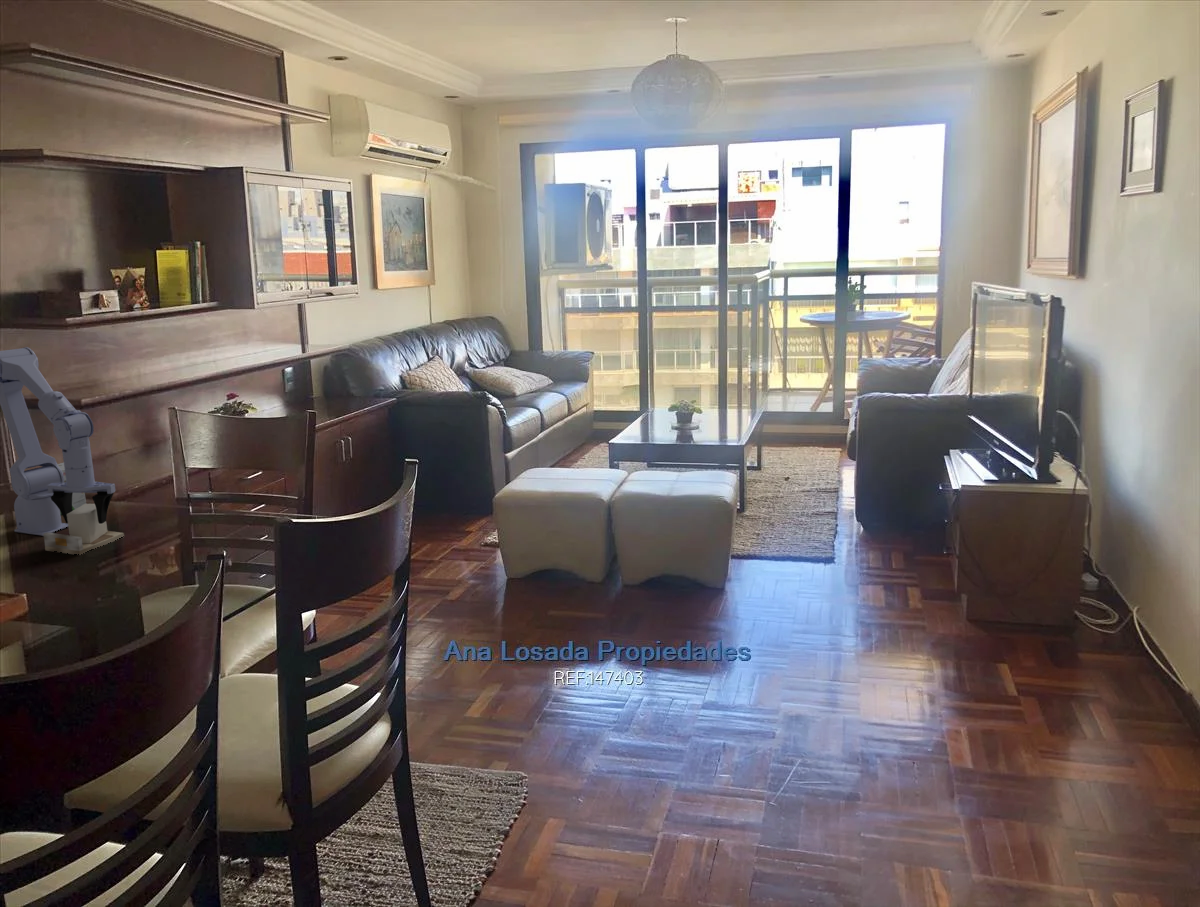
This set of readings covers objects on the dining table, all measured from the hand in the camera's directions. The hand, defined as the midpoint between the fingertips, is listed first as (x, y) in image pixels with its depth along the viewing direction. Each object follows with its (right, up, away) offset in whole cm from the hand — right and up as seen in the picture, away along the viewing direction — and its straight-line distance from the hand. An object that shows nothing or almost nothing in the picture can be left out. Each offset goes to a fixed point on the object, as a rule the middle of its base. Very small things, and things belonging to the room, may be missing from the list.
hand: (86, 522), depth 220 cm
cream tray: (0, -5, 0) cm, 5 cm away
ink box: (-18, +1, +25) cm, 31 cm away
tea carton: (0, -4, +1) cm, 4 cm away
